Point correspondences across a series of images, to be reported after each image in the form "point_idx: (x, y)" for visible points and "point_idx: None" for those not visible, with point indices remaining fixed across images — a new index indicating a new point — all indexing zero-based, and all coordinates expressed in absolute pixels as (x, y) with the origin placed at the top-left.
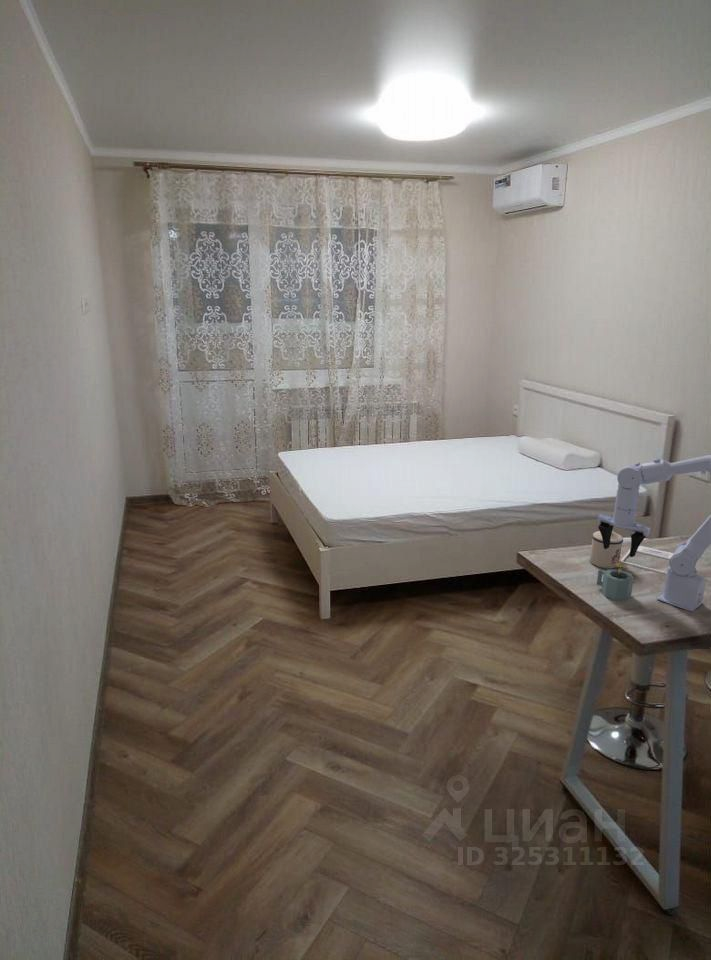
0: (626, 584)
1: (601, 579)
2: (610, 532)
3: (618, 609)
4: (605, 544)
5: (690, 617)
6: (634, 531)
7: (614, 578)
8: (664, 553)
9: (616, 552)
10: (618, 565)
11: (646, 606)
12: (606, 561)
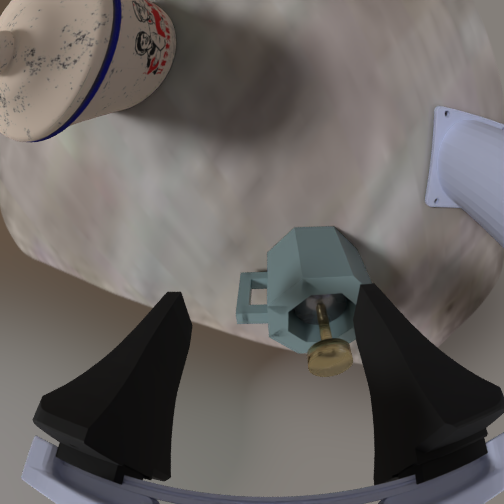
0: None
1: (249, 284)
2: (142, 393)
3: None
4: (184, 358)
5: None
6: (393, 485)
7: None
8: None
9: (142, 50)
10: (327, 372)
11: (407, 264)
12: (139, 94)
